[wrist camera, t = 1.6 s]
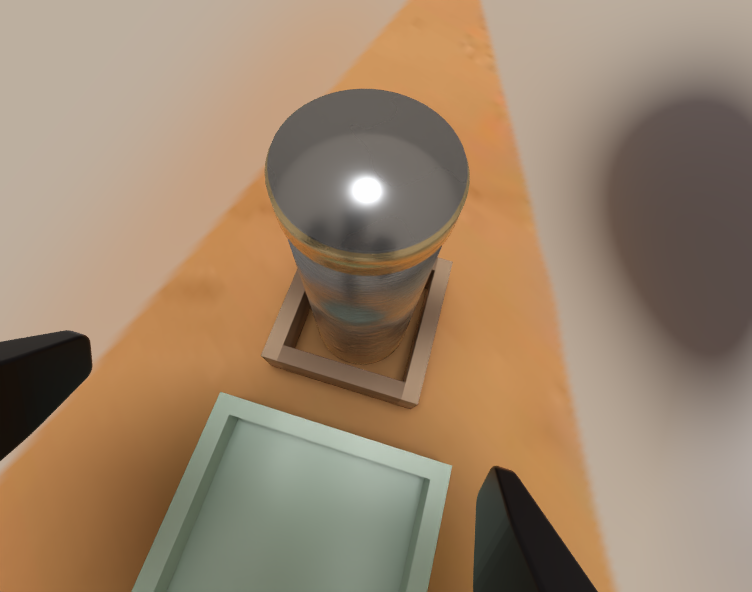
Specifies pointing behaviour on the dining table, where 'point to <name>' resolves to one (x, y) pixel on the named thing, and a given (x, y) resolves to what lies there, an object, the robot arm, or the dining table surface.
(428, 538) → the tray
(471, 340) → the dining table surface
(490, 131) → the dining table surface
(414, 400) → the holder
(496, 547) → the robot arm
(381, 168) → the grey cylindrical piece
